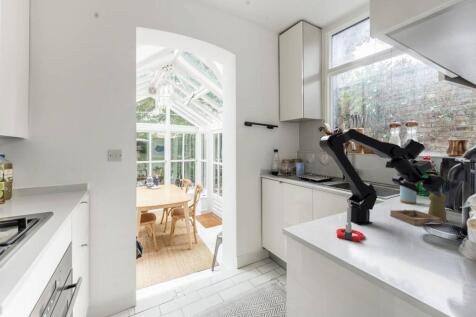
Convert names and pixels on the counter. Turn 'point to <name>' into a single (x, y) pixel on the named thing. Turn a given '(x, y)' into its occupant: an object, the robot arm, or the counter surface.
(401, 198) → the bottle
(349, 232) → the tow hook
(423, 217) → the tray
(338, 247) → the counter surface
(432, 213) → the cork
